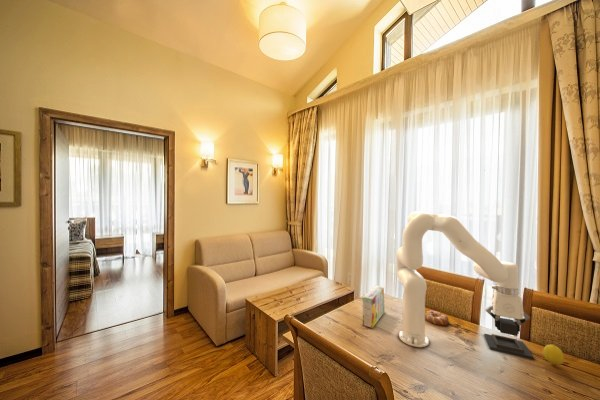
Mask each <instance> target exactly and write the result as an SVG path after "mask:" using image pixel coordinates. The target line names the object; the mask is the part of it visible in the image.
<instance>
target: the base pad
mask: <svg viewBox="0 0 600 400" xmlns="http://www.w3.org/2000/svg"><path fill="white" fill-rule="evenodd" d="M483 336H484V338H485V341H486V342H487V345H488V348H489V349H490V350H492V351H497V352H501V353H505V354H508V355H513V356H517V357H520V358H521V357H522V358H526V359H529V360H534V356H533V354H532V353H531V352H530V350H529V349H528V346H527V345H526V344H525V342H524V341H521V340H518V339H517V338H513V337H508V336H504V335H499V334H494V333H491V334H488V333H484V334H483Z"/></svg>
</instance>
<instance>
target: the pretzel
mask: <svg viewBox="0 0 600 400" xmlns="http://www.w3.org/2000/svg"><path fill="white" fill-rule="evenodd" d="M425 320H426V321H428V322H429V323H430V324H434V325H437V326H447V325H449V317H448V316H447V315H446V314H442V313H441V312H439V311H435V310H427V311H425Z"/></svg>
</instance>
